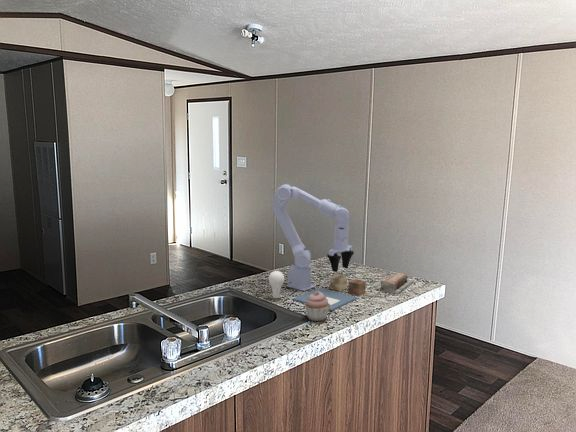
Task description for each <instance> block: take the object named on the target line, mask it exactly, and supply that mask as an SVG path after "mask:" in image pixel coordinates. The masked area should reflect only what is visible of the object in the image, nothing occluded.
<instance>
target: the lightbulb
mask: <svg viewBox="0 0 576 432" xmlns="http://www.w3.org/2000/svg"><path fill="white" fill-rule="evenodd" d="M268 282H269V284H270V287H271V290H272V291H271V292H272V298H274V299H275V300H276V299H278V298H280V293H281V288H282V286H283V284H284V282H285V275H284V274H283V273H282V271H279V270H274V271H272V272H270V274H269V275H268Z"/></svg>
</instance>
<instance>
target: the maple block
mask: <svg viewBox="0 0 576 432" xmlns="http://www.w3.org/2000/svg"><path fill="white" fill-rule="evenodd" d="M347 288H348V276H345V275H339V274H336V275H332V276H331V277H330V279H329V289H330V290H332V291H333V290H334V291H336V292H341V291H344V290H346V289H347Z"/></svg>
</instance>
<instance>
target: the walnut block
mask: <svg viewBox="0 0 576 432" xmlns="http://www.w3.org/2000/svg"><path fill="white" fill-rule="evenodd" d="M366 286H367V281H365V280H362V279H358V278H354V279H351V280H349V281H348V286H347V288H348V290H347V294H348V295H352V296H356V297H357V296H358V297H359V296H362V295H364V294H366Z"/></svg>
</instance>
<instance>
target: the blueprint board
mask: <svg viewBox="0 0 576 432" xmlns="http://www.w3.org/2000/svg"><path fill="white" fill-rule="evenodd" d="M316 291H319V292H321V293H323V294H324V296H325V297H326V298H327V299H328V303H329V304H330V306H331V307H330V308H329V310H328V312H332V311H335V310H337V309H340V308H341V307H344V306H345V305H348V304H349V303H352V302H354V301H356V300H358V297H359V296H358V297H357V296H355V295H351V294H345V293H341V292H339V291H336V290H334V291H333V290H332V289H330V290H329V289H327V288H323V287H319V288H316V289H314V290H311V291H308V292H306V293H304V294H300V295H299V296H295V297H293V300H292V301H295V302H299V303H301V304H302V303H303V304H305V303H306V301H307V299H308V297H309V296H310V295H311V294H314V293H315V292H316Z"/></svg>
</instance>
